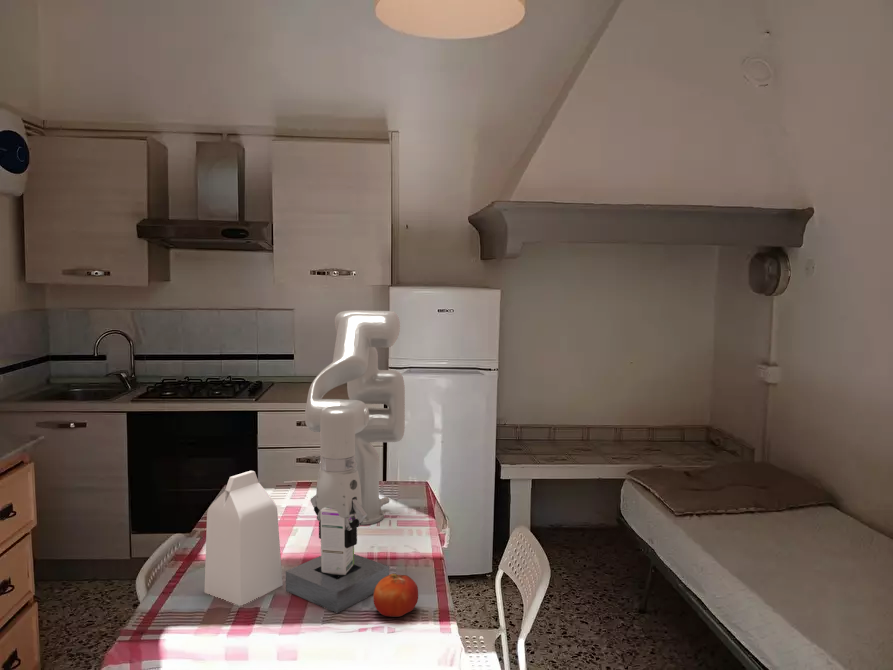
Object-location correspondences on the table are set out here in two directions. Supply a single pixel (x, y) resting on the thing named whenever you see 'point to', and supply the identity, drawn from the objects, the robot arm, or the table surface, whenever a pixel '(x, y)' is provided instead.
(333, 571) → the syrup box
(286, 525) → the table surface
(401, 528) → the table surface
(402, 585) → the tomato
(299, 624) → the table surface
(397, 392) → the robot arm
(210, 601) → the table surface
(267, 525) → the milk
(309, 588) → the bore block
